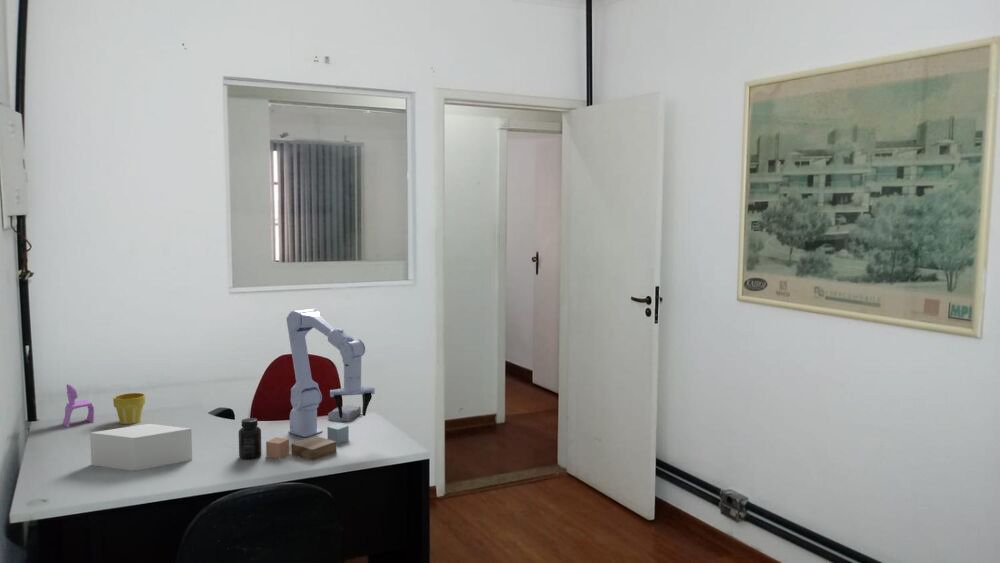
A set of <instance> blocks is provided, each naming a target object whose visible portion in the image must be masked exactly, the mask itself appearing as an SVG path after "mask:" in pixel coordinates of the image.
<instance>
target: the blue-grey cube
mask: <svg viewBox="0 0 1000 563" xmlns="http://www.w3.org/2000/svg"><path fill="white" fill-rule="evenodd" d="M326 428H327V429H326V430H327V439H329V440H332V441H336V445H337V444H341V443H343V442H344V443H345V442H347V441H349V439H350V438H349V436H350V434H349V425H345V424H342V423H339V422H337V423H336V424H332V425H329V426H327V427H326Z"/></svg>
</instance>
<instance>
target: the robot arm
mask: <svg viewBox="0 0 1000 563" xmlns="http://www.w3.org/2000/svg"><path fill="white" fill-rule="evenodd" d="M286 326H287V331H288V339H289V343H290V344H289V345H290V350H291V357H292V363H293V364H292V365H293V370H294V375H295V383H294V385H293V386H292V387H291V388H290V404H291V407H292V409H291V410H290V413H289V430H288V431H287V433H288V434H292V435H297V436H300V437H304V438H308V437H310V436H311V437H312V436H315V435H316V434H320V433H323V430H322V429H319V428H318V408H319V405H320V403H321V402H322V400H323V395H322V392H321V390H320V388H319V383H318V382H316V381H314V380H313V378H312V371H311V366H310V365H311V364H310V360H309V359H310V358H309V353H308V347H307V345H308V344H307V342H306V341H307V339H306V336H307V334H309V332H310V331H312V330H313V329H315V330H317V331H318V332H319V333H321V334H323V335H324V336H326V337H327V340H328V342H329V343H330V344H331V345H332V346H333V347H335V349H337V350H338V351H339V353H340V355H341V358H342V364H343V388H342V387H341V388H337V389H330V390H329V396H330V398H333V399H334V402H335V404H336V408H338V410H339V416H340V418H342V406H343V397H342V396H359V395H361V396H362V397H361V398H362V410H361V413H362V416H363V417H365V416H366V413H367V409H368V406H369V405H370V404H369V403H370V402H371V400H372V397H373V395H375V392H376V391H375V390H376V389H375V388H374V387H373V386H372V387H371V386H369V387H366V386H362V357H363V355H365V353H366V346H365V343H364V342H363V341H362V340H361V339H355V338H353V337H352V336H350V335H348V334H347V333H346V332H345V330H344V329H343V328H337V327H336V328H334V327H333V326H332V325H331V324H330V323H328V321H327V320H325V319H324V318H323V317H322V314H321V312H320V311H319V310H317V309H316V308H314V307H313V308H309V309H302V310H291V311H290V312H289V314H288V315H287V317H286Z"/></svg>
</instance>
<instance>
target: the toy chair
mask: <svg viewBox="0 0 1000 563" xmlns="http://www.w3.org/2000/svg"><path fill="white" fill-rule="evenodd" d="M66 394H67V400H68V402H67V403H66V406H65V408H64V418H63V420H62V421H63V422H62V424H61V425H63V426H65V427H67V428H70V425H71V424H70V423H71V422H70V421H71V416H72V413H73V411H74V410H77V409H79V408H84V407H85V408H86V407H87V411H88V413H87V417H86V419H85V420H86V421H88V422H90V423H93V424H94V421H95V420H94V418H95V415H94V414H95V407H94V405H93V402H90V401H88V400H87V399H84V400H79V401H75V400H77V398H78V394H77V390H76V388H75V387H74V386H73V385H71V384H69V383H67V384H66ZM78 399H79V398H78Z"/></svg>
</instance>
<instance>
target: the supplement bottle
mask: <svg viewBox="0 0 1000 563" xmlns="http://www.w3.org/2000/svg"><path fill="white" fill-rule="evenodd" d="M238 430H239V431H238V456H239V459H241V460H245V459H246V460H248V459H249V460H255V459H258V458H260V457H261V456H262V451H263V450H262V429H261V428H260V427H259V426H258V418H257V417H256V418H255V417H249V418H247V417H246V418H244V419H243V418H242V420H241V428H240V429H238ZM249 460H248V461H249Z"/></svg>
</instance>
